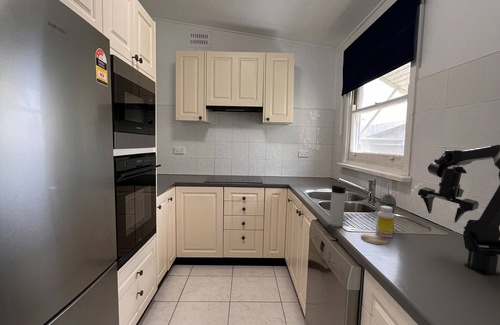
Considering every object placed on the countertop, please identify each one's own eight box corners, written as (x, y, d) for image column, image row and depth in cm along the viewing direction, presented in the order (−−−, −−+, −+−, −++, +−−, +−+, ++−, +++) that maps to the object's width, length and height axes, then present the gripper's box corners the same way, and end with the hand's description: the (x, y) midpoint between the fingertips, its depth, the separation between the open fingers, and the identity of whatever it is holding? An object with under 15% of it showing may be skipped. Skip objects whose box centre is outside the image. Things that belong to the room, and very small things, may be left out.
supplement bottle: (395, 238, 106) (397, 209, 105) (378, 237, 107) (380, 208, 106) (389, 233, 112) (392, 205, 111) (373, 231, 114) (376, 204, 113)
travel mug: (326, 224, 121) (328, 184, 120) (336, 222, 124) (338, 183, 122) (335, 228, 116) (338, 186, 114) (345, 227, 118) (348, 186, 117)
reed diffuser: (379, 226, 121) (383, 186, 120) (376, 221, 128) (379, 184, 126) (396, 228, 119) (399, 187, 117) (392, 223, 126) (395, 185, 124)
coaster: (393, 244, 100) (393, 243, 100) (369, 244, 99) (369, 243, 98) (377, 235, 110) (377, 233, 109) (356, 235, 108) (356, 233, 108)
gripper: (489, 185, 93) (479, 223, 97) (434, 173, 109) (427, 205, 113) (476, 189, 88) (466, 229, 91) (420, 176, 104) (414, 210, 107)
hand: (442, 217), depth 101 cm, fingers open, 9 cm apart
